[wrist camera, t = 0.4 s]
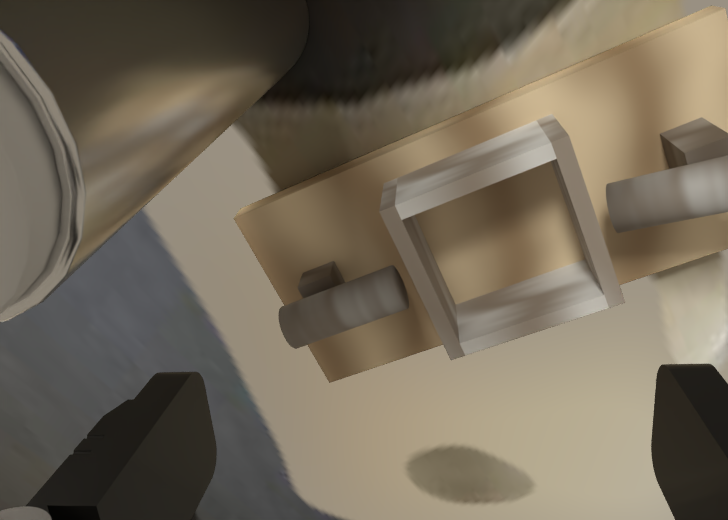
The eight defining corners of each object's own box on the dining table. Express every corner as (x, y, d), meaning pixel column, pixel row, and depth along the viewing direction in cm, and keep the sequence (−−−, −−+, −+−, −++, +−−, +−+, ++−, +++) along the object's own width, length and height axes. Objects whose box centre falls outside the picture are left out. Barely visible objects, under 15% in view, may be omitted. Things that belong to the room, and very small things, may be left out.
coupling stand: (332, 368, 41) (314, 455, 34) (240, 208, 37) (197, 270, 30) (760, 221, 34) (847, 292, 27) (711, 5, 30) (800, 23, 23)
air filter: (335, 32, 32) (138, 234, 10) (241, 109, 34) (-103, 420, 12) (250, -85, 30) (-249, -175, 8) (155, 4, 32) (-456, 138, 10)
